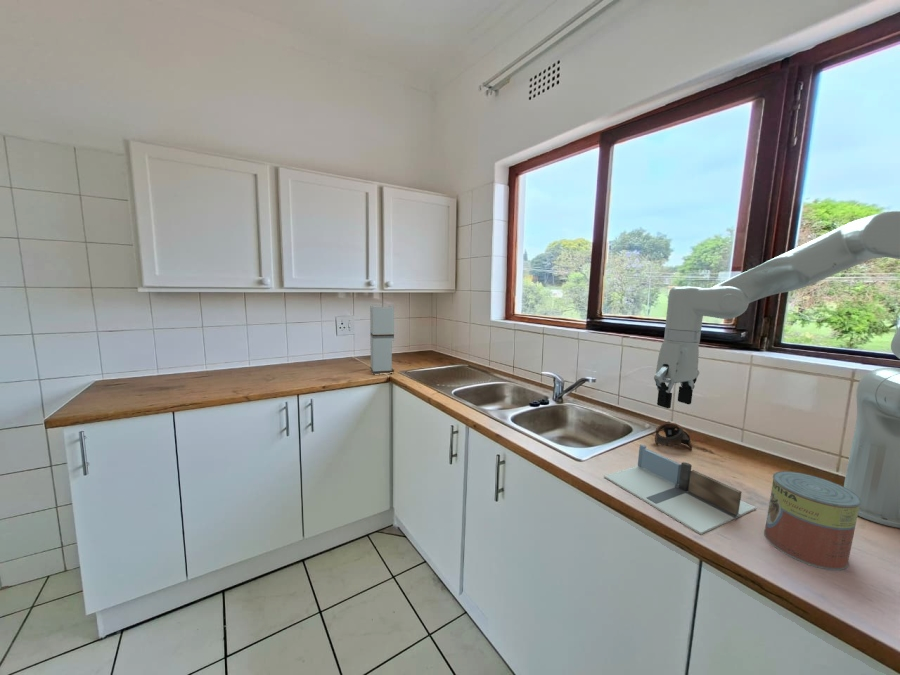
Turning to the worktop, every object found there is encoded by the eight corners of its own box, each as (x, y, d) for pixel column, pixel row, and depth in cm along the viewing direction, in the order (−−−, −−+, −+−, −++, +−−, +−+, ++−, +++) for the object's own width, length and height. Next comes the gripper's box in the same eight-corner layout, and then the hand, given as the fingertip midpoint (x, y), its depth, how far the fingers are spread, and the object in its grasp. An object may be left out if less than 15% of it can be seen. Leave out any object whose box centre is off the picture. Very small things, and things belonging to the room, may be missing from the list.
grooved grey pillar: (393, 374, 189) (393, 307, 184) (373, 375, 186) (372, 307, 181) (390, 369, 200) (390, 306, 195) (370, 370, 196) (370, 306, 191)
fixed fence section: (739, 516, 76) (743, 487, 75) (733, 519, 75) (738, 489, 74) (681, 487, 86) (684, 461, 85) (676, 489, 85) (679, 463, 84)
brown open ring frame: (700, 457, 104) (691, 434, 102) (665, 465, 107) (656, 444, 105) (683, 431, 115) (675, 410, 112) (652, 439, 118) (644, 419, 116)
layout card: (756, 509, 78) (757, 507, 78) (701, 535, 70) (702, 532, 69) (656, 461, 99) (656, 460, 99) (603, 477, 90) (604, 475, 90)
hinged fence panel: (679, 483, 86) (682, 462, 86) (675, 485, 86) (678, 463, 85) (639, 464, 96) (642, 444, 95) (636, 465, 95) (638, 445, 94)
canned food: (757, 519, 75) (766, 465, 73) (833, 540, 69) (844, 481, 67) (772, 553, 65) (782, 492, 63) (861, 580, 59) (875, 513, 58)
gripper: (687, 333, 97) (680, 396, 99) (644, 336, 89) (637, 404, 92) (718, 337, 90) (709, 405, 93) (674, 340, 83) (666, 414, 85)
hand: (674, 404), depth 92 cm, fingers open, 7 cm apart
